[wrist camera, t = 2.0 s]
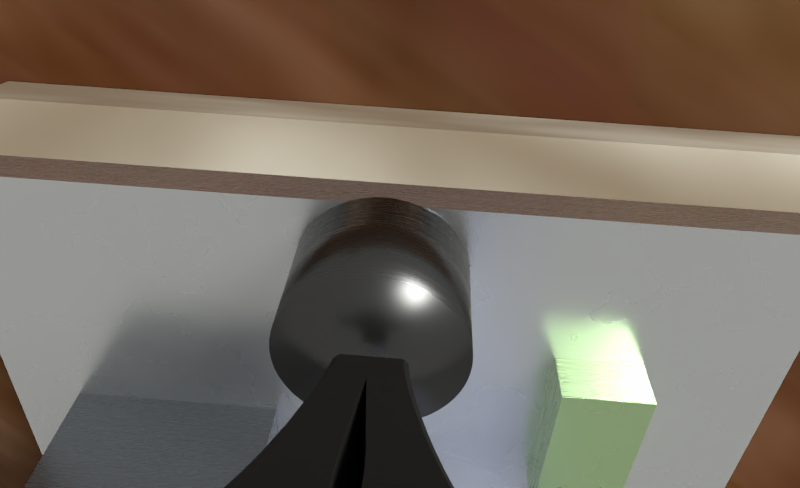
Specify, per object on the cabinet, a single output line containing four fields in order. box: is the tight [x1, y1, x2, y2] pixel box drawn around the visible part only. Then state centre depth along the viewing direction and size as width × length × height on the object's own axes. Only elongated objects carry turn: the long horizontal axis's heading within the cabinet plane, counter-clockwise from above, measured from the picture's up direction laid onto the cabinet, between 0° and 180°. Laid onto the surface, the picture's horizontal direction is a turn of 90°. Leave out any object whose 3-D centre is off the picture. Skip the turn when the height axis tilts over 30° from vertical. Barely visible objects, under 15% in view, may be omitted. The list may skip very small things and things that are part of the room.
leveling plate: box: [0, 155, 800, 488], centre depth 19 cm, size 14×22×5 cm, turn 87°
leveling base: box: [0, 81, 800, 213], centre depth 23 cm, size 15×24×2 cm, turn 87°
